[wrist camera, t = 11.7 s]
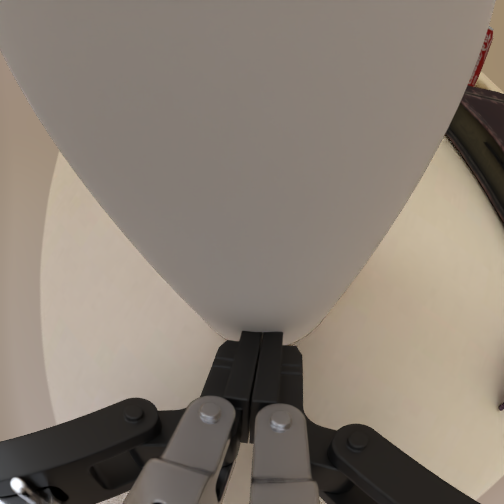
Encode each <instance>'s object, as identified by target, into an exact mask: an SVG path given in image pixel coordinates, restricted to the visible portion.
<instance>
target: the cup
mask: <svg viewBox="0 0 504 504" xmlns="http://www.w3.org/2000/svg"><path fill="white" fill-rule="evenodd" d="M495 1H496V0H0V50H1V53H2V54H3V56H4V59H5V60H6V62H7V64H8V66H9V68H10V70H11V72H12V74H13V76H14V77H15V79H16V81H17V83H18V85H19V86H20V88H21V90H22V92H23V94H24V95H25V97H26V99H27V100H28V102H29V104H30V105H31V107H32V108H33V110H34V112H35V113H36V115H37V117H38V118H39V120H40V121H41V123H42V125H43V126H44V127H45V129H46V131H47V132H48V134H49V135H50V137H51V138H52V140H53V141H54V143H55V144H56V146H57V147H58V149H59V150H60V152H61V153H62V154H63V156H64V157H65V159H66V160H67V161H68V163H69V164H70V166H71V167H72V168H73V170H74V171H75V172H76V174H77V175H78V177H79V178H80V179H81V181H82V182H83V183H84V185H85V186H86V187H87V189H88V190H89V191H90V192H91V194H92V195H93V196H94V198H95V199H96V200H97V201H98V203H99V204H100V205H101V206H102V208H103V209H104V210H105V212H106V213H107V214H108V215H109V216H110V218H111V219H112V220H113V221H114V223H115V224H116V225H117V226H118V227H119V229H120V230H121V231H122V232H123V233H124V235H125V236H126V237H127V238H128V239H129V240H130V242H131V243H132V244H133V245H134V246H135V247H136V249H137V250H138V251H139V252H140V253H141V254H142V255H143V257H144V258H145V259H146V260H147V261H148V262H149V263H150V264H151V266H152V267H153V268H154V269H155V270H156V271H157V272H158V273H159V274H160V275H161V277H162V278H163V279H164V280H165V281H166V282H167V283H168V284H169V285H170V286H171V287H172V288H173V289H174V290H175V291H176V293H177V294H178V295H179V296H180V297H181V298H182V299H183V300H184V301H185V302H186V303H187V304H188V305H189V306H190V307H191V308H192V309H193V310H194V311H195V312H196V313H197V314H198V315H199V316H200V317H201V318H202V319H203V320H204V321H205V322H206V323H207V324H208V325H209V326H210V327H211V328H212V329H213V330H214V331H215V332H217V333H218V334H219V335H221V336H222V337H224V338H225V339H227V340H232V341H239V340H240V336H241V333H242V331H250V332H262V338H263V332H283V344H282V345H288V344H291V343H294V342H296V341H298V340H300V339H301V338H303V337H305V336H306V335H308V334H309V333H310V332H311V331H313V330H314V329H315V328H316V327H317V326H318V325H319V324H320V322H321V321H322V320H323V319H324V318H325V316H326V315H327V314H328V313H329V311H330V310H331V309H332V308H333V306H334V305H335V304H336V303H337V301H338V300H339V299H340V297H341V296H342V295H343V294H344V292H345V291H346V290H347V288H348V287H349V286H350V284H351V283H352V282H353V280H354V279H355V278H356V276H357V275H358V274H359V272H360V271H361V269H362V268H363V267H364V265H365V264H366V263H367V261H368V260H369V258H370V257H371V255H372V254H373V253H374V251H375V250H376V248H377V247H378V245H379V244H380V242H381V241H382V240H383V238H384V237H385V235H386V234H387V232H388V231H389V229H390V228H391V226H392V224H393V223H394V221H395V220H396V218H397V217H398V215H399V214H400V212H401V210H402V209H403V207H404V206H405V204H406V202H407V201H408V199H409V198H410V196H411V194H412V193H413V191H414V189H415V188H416V186H417V184H418V183H419V181H420V179H421V177H422V176H423V174H424V172H425V170H426V169H427V167H428V165H429V163H430V161H431V160H432V158H433V156H434V154H435V152H436V150H437V148H438V147H439V145H440V143H441V141H442V139H443V137H444V135H445V133H446V131H447V129H448V127H449V125H450V123H451V121H452V119H453V117H454V115H455V112H456V110H457V108H458V106H459V104H460V101H461V99H462V97H463V95H464V92H465V90H466V88H467V85H468V83H469V80H470V78H471V75H472V73H473V70H474V68H475V65H476V62H477V60H478V57H479V54H480V51H481V48H482V46H483V43H484V39H485V36H486V33H487V30H488V27H489V23H490V20H491V16H492V13H493V9H494V4H495Z"/></svg>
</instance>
